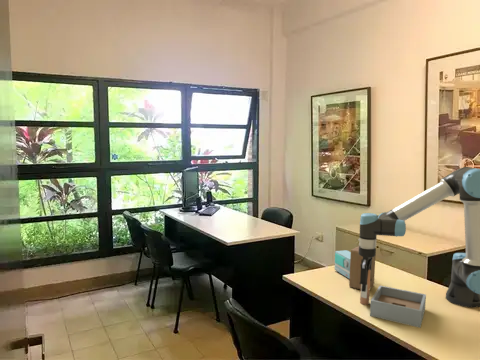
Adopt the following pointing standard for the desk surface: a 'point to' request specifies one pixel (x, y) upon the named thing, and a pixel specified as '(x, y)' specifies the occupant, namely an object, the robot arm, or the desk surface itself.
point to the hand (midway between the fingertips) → (364, 295)
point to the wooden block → (358, 269)
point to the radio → (343, 262)
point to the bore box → (398, 306)
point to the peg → (366, 300)
